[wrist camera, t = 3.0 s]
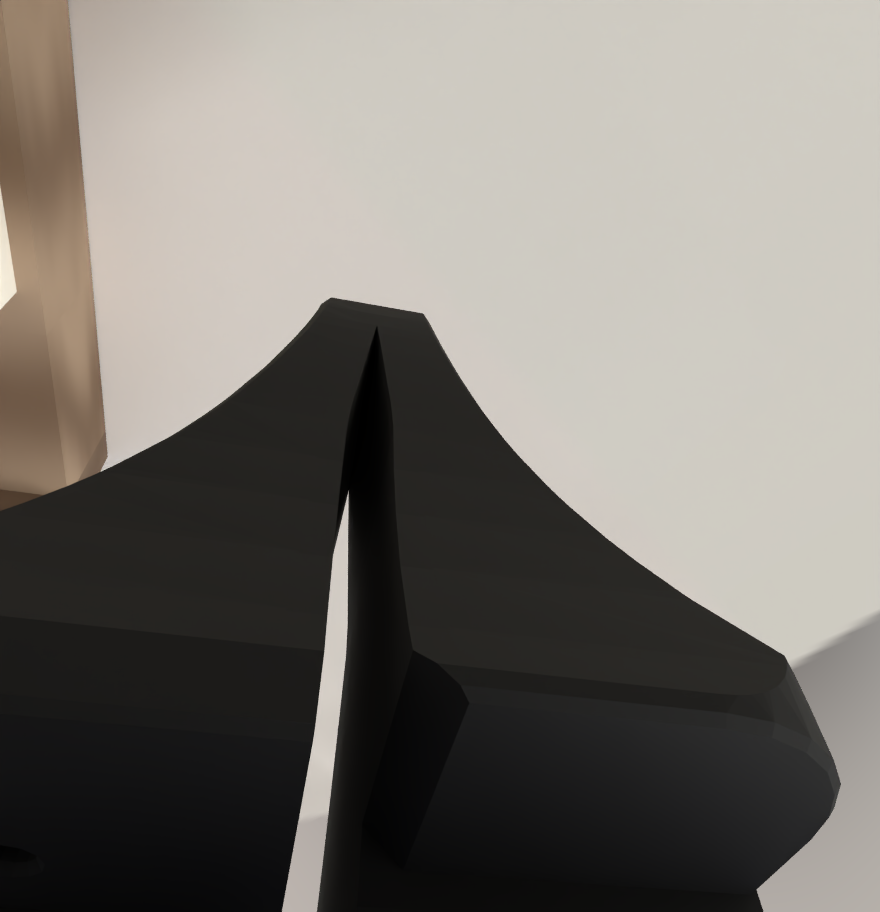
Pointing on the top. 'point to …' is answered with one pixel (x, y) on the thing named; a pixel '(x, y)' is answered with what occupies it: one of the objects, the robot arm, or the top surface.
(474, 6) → the top surface
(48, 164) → the trap box
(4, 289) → the cream block
